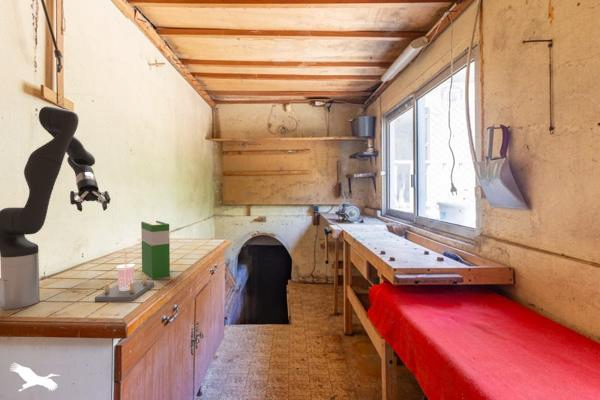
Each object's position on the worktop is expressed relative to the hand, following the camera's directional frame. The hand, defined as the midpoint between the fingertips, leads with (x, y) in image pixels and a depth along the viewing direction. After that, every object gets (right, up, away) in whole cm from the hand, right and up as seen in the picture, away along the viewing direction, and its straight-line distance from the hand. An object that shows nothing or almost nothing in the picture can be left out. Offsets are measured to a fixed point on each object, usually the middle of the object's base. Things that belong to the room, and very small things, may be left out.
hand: (93, 209), depth 122 cm
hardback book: (+22, -31, +10) cm, 39 cm away
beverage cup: (+24, -30, -16) cm, 42 cm away
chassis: (+24, -31, -16) cm, 43 cm away
